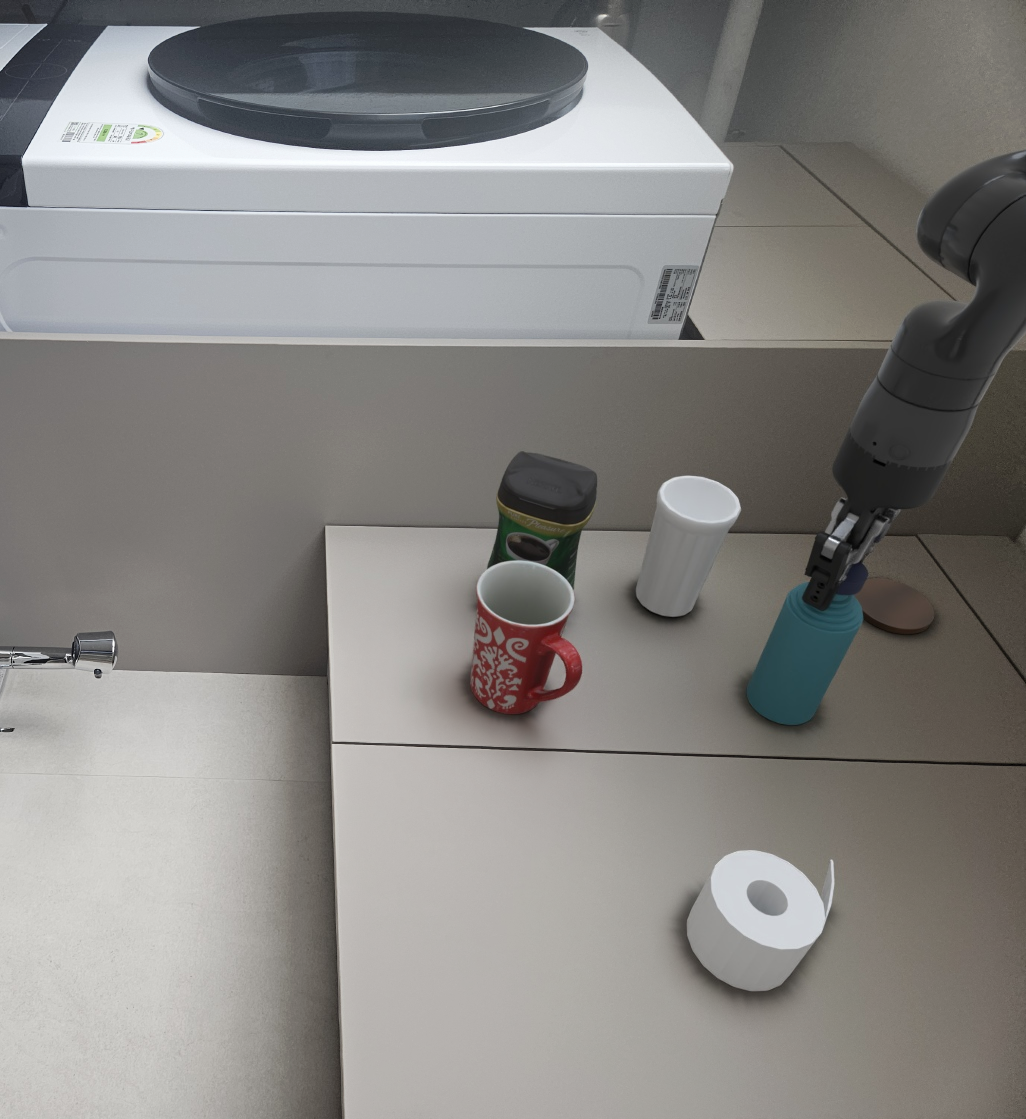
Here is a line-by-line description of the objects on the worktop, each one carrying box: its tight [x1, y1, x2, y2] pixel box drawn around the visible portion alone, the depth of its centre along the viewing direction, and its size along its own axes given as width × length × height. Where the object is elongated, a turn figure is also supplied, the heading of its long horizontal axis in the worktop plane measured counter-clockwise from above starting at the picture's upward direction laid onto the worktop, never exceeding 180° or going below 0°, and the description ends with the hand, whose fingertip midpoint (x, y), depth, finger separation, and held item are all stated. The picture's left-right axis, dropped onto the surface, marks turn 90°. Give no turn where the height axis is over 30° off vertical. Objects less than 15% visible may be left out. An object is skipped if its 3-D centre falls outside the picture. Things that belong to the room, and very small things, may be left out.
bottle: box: [745, 581, 864, 726], centre depth 91 cm, size 6×6×17 cm
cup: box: [635, 475, 742, 618], centre depth 103 cm, size 8×8×14 cm
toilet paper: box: [686, 849, 835, 992], centre depth 77 cm, size 8×11×7 cm
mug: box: [469, 561, 583, 715], centre depth 93 cm, size 13×9×14 cm
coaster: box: [854, 577, 935, 635], centre depth 106 cm, size 8×8×1 cm
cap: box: [836, 561, 869, 595], centre depth 86 cm, size 4×4×2 cm
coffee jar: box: [485, 450, 598, 591], centre depth 102 cm, size 10×8×19 cm
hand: (825, 592), depth 87 cm, fingers closed on cap, 3 cm apart
